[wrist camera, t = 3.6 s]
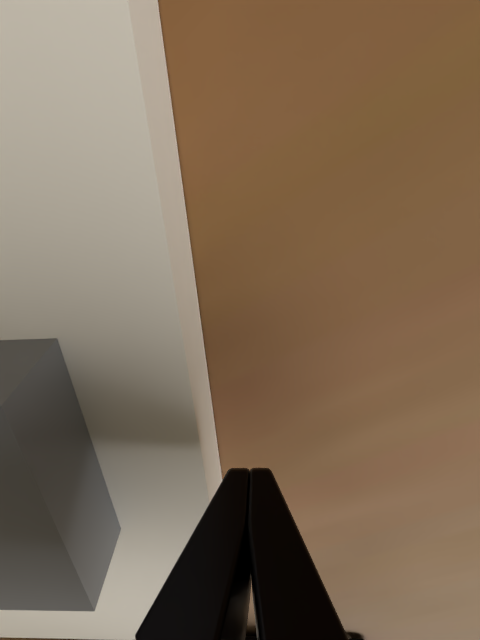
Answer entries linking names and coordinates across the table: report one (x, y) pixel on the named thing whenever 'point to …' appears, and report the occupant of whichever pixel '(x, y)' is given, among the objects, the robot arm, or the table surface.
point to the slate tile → (49, 487)
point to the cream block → (107, 279)
